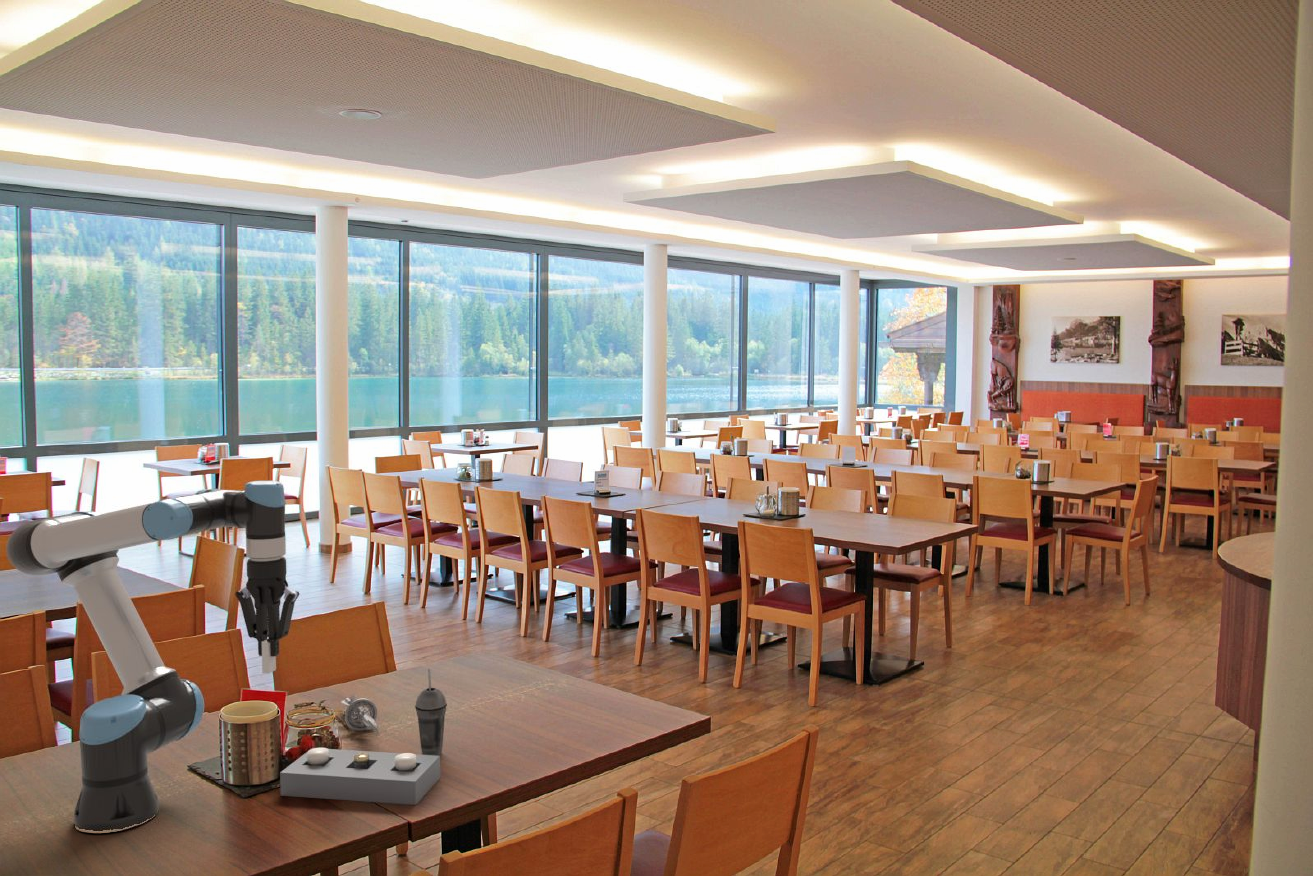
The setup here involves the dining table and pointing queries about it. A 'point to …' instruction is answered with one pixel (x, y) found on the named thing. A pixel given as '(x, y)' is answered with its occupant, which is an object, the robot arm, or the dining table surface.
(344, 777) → the console
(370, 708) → the spaceship
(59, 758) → the dining table surface
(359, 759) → the pot knob
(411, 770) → the right knob
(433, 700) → the beverage cup
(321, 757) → the left knob
